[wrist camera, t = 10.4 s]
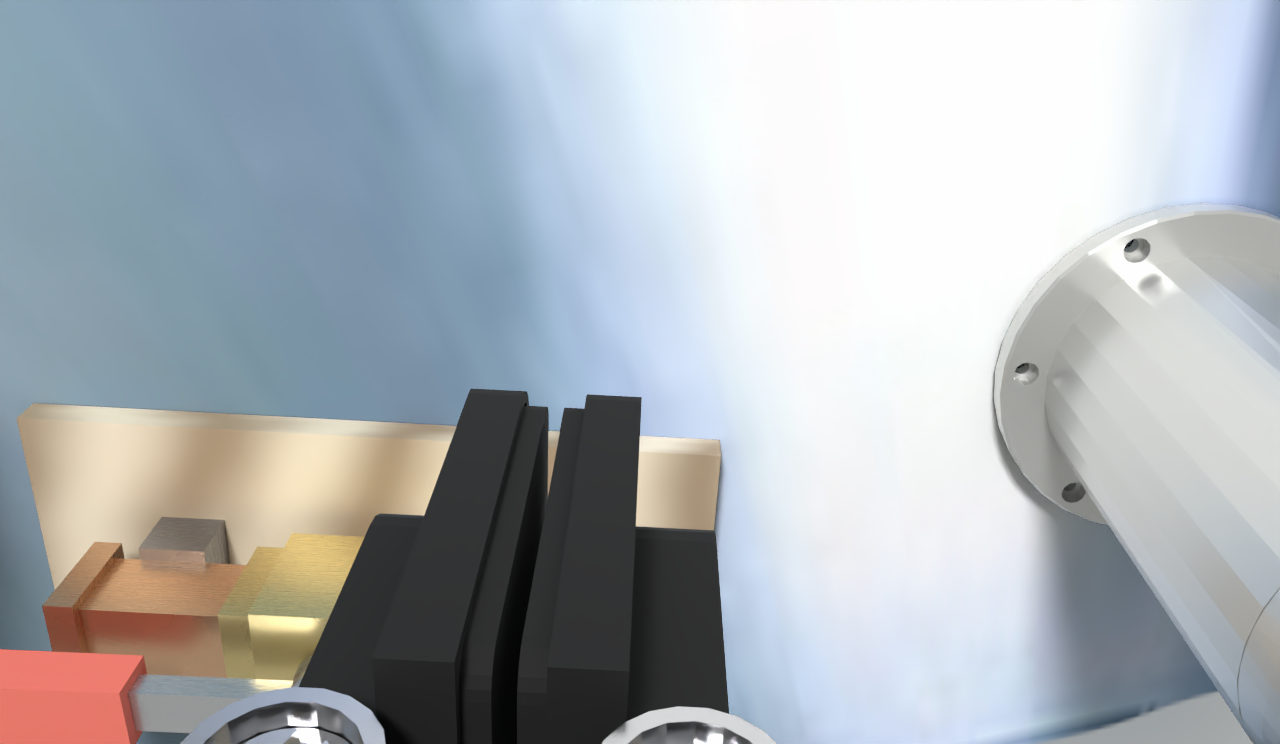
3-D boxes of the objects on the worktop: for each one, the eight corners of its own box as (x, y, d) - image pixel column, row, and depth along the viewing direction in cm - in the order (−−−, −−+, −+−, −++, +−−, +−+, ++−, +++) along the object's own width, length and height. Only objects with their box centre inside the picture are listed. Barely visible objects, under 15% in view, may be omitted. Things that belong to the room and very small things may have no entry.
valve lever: (369, 652, 36) (352, 700, 34) (375, 712, 38) (358, 762, 36) (-41, 635, 36) (-84, 682, 34) (-24, 694, 38) (-64, 744, 36)
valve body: (635, 533, 42) (631, 634, 36) (629, 632, 44) (624, 743, 38) (113, 505, 42) (31, 603, 36) (132, 606, 44) (57, 713, 38)
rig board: (719, 440, 41) (720, 455, 40) (696, 685, 46) (697, 705, 45) (33, 403, 41) (16, 418, 40) (86, 653, 46) (73, 672, 45)
